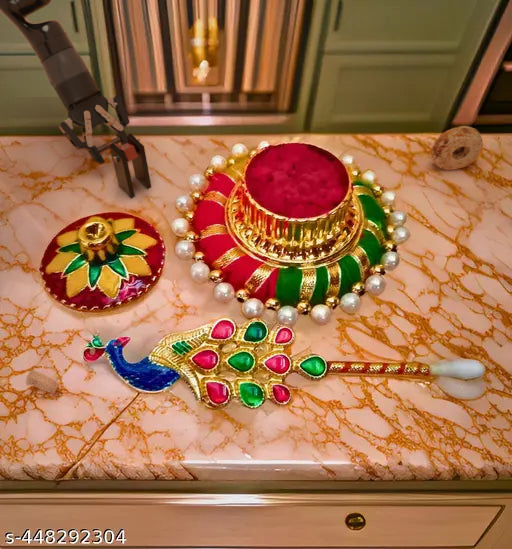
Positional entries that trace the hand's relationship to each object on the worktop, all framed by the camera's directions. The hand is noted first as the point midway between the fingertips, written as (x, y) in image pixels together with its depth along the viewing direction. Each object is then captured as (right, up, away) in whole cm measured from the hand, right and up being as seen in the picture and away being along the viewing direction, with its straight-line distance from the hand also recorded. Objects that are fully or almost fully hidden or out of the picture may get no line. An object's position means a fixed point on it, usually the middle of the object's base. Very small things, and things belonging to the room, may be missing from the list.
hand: (115, 156), depth 117 cm
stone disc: (+71, 0, +9) cm, 72 cm away
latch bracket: (+4, -7, +2) cm, 8 cm away
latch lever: (+2, 0, -4) cm, 4 cm away
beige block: (-6, -43, -22) cm, 49 cm away
